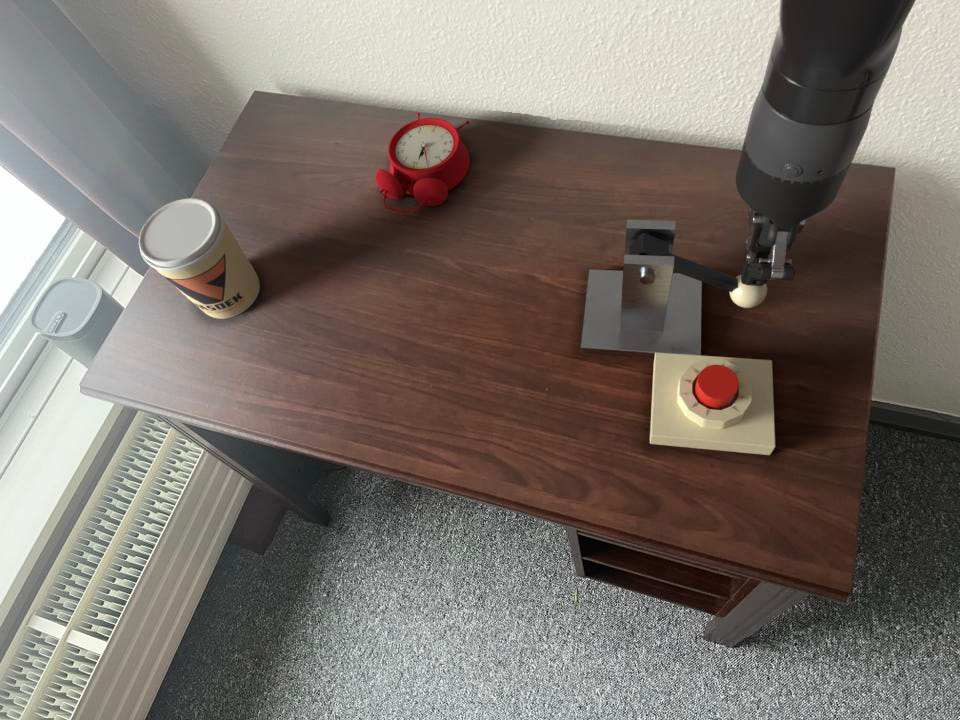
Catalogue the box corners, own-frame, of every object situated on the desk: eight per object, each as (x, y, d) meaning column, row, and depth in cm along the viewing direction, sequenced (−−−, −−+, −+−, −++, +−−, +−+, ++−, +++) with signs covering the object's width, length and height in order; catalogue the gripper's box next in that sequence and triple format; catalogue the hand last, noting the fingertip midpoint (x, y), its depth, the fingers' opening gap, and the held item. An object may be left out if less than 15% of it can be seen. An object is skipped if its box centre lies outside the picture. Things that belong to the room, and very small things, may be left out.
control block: (767, 370, 67) (776, 351, 64) (770, 455, 63) (780, 439, 60) (653, 362, 70) (656, 343, 66) (649, 444, 66) (652, 428, 62)
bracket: (700, 280, 74) (719, 200, 62) (699, 361, 69) (719, 291, 58) (589, 275, 76) (588, 197, 65) (580, 352, 71) (578, 284, 60)
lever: (750, 289, 68) (774, 272, 65) (751, 318, 67) (775, 302, 64) (627, 244, 65) (646, 224, 62) (624, 273, 63) (644, 254, 60)
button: (734, 375, 64) (738, 365, 62) (735, 410, 62) (739, 401, 61) (695, 372, 65) (697, 362, 63) (694, 406, 63) (697, 397, 61)
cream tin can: (191, 332, 80) (131, 273, 70) (195, 269, 85) (140, 205, 75) (266, 316, 80) (217, 254, 70) (267, 254, 85) (221, 187, 74)
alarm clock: (480, 116, 85) (431, 183, 76) (483, 159, 90) (437, 228, 81) (406, 105, 88) (351, 169, 80) (413, 147, 93) (362, 212, 84)
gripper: (866, 212, 45) (798, 342, 60) (849, 75, 51) (791, 224, 66) (747, 209, 46) (710, 336, 61) (744, 76, 52) (711, 222, 67)
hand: (752, 278), depth 64 cm, fingers closed
